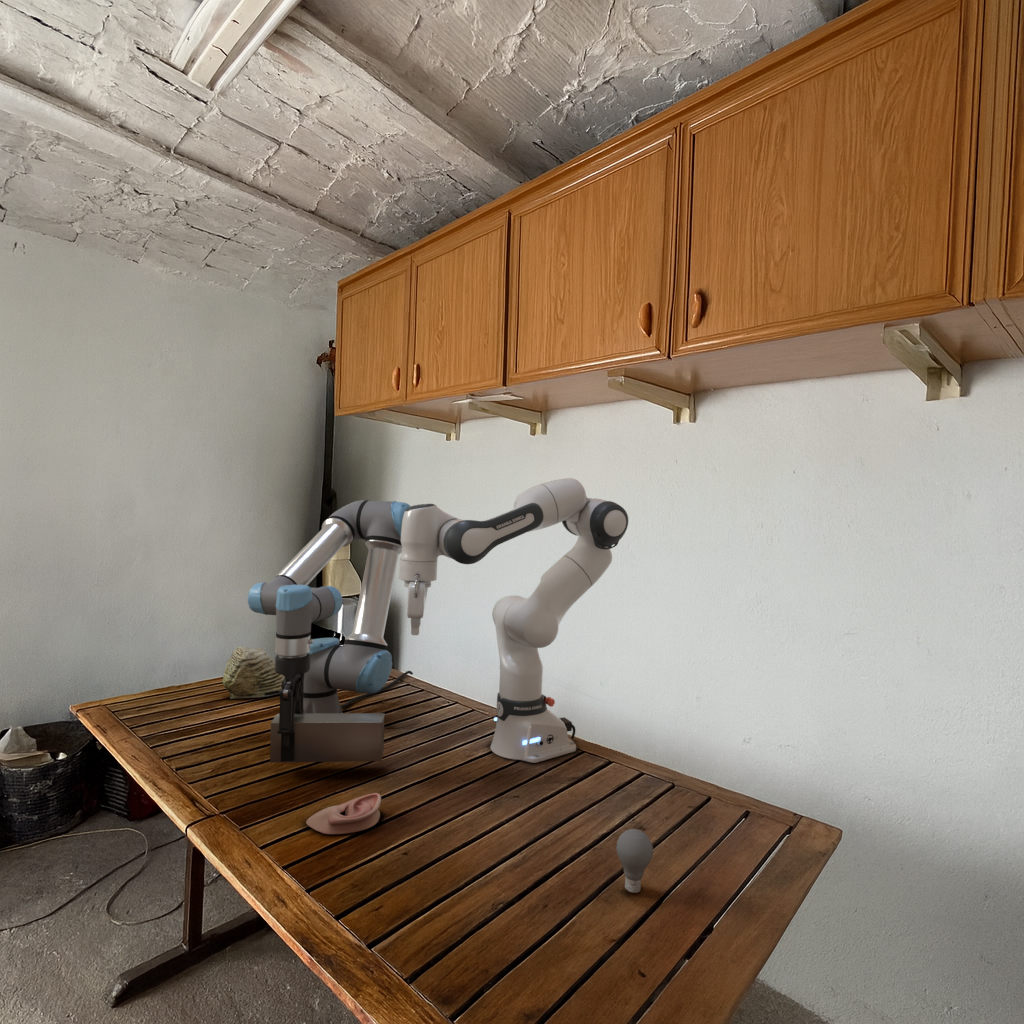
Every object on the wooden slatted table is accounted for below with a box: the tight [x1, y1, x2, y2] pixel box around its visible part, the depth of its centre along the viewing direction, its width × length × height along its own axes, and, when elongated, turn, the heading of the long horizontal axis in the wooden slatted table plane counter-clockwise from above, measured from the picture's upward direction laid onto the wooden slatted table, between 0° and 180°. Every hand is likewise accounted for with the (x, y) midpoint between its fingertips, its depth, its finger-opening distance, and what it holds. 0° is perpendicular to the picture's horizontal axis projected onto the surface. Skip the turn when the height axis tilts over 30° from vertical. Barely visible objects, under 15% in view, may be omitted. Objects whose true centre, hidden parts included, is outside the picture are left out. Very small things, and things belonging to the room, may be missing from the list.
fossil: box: [222, 646, 284, 699], centre depth 198 cm, size 9×18×15 cm, turn 132°
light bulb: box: [615, 828, 654, 894], centre depth 106 cm, size 6×6×10 cm
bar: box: [269, 712, 386, 763], centre depth 145 cm, size 24×6×9 cm, turn 96°
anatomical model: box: [305, 792, 382, 835], centre depth 124 cm, size 13×4×12 cm
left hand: (290, 754), depth 144 cm, fingers closed on bar, 6 cm apart
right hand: (415, 630), depth 150 cm, fingers open, 8 cm apart
